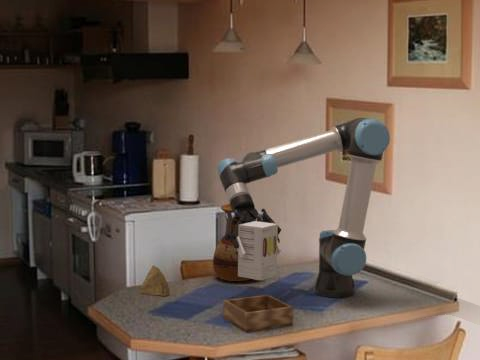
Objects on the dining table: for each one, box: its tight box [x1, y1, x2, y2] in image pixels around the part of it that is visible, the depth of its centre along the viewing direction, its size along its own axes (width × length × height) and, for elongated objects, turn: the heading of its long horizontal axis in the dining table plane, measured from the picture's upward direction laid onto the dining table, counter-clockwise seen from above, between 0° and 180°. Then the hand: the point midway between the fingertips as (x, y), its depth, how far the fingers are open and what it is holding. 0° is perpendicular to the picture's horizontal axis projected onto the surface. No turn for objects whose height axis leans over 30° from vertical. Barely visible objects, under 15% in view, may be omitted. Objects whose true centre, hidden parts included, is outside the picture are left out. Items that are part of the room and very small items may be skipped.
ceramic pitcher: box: [212, 203, 257, 282], centre depth 316 cm, size 20×20×30 cm
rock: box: [139, 265, 170, 297], centre depth 293 cm, size 11×9×10 cm
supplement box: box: [238, 220, 279, 281], centre depth 258 cm, size 10×9×17 cm
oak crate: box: [222, 294, 294, 333], centre depth 261 cm, size 17×17×6 cm
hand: (261, 254), depth 256 cm, fingers closed on supplement box, 12 cm apart
